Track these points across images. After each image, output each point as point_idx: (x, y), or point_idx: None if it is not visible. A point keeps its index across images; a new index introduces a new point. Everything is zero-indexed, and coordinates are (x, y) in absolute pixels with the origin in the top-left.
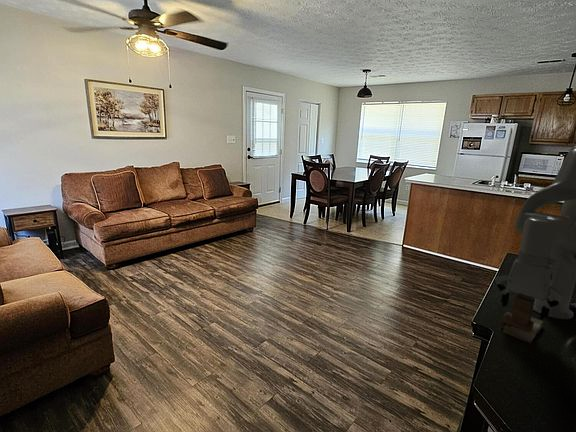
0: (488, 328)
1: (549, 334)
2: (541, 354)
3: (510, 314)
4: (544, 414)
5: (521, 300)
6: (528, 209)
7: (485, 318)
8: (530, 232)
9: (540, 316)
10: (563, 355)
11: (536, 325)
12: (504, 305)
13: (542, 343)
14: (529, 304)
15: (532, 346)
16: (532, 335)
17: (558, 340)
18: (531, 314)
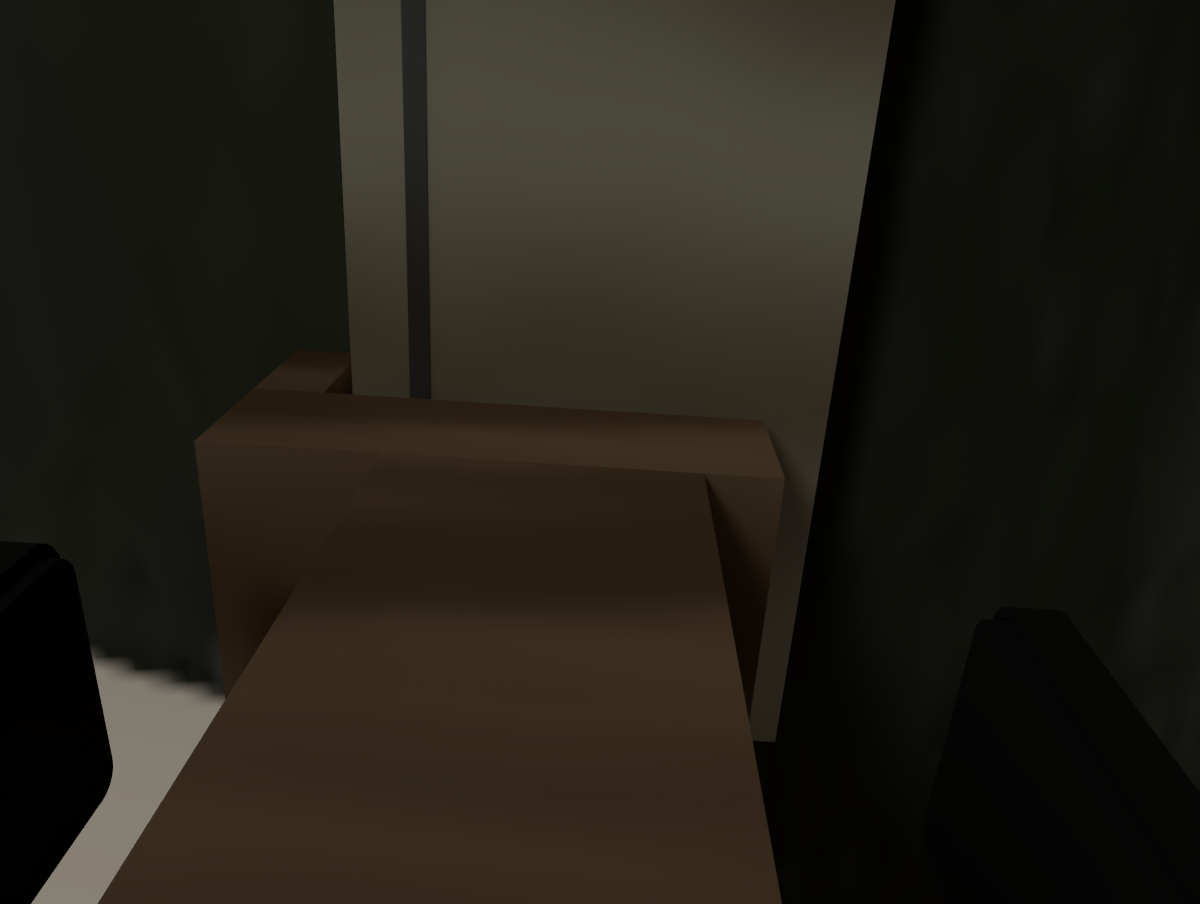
0: (215, 684)
1: (1022, 83)
2: (903, 835)
3: (310, 530)
4: None
5: None
6: None
7: (15, 382)
8: None
9: (950, 902)
10: (1160, 668)
11: (809, 198)
12: (81, 815)
13: (910, 545)
14: None
15: (795, 730)
16: (782, 683)
17: (1155, 220)
18: (716, 558)
